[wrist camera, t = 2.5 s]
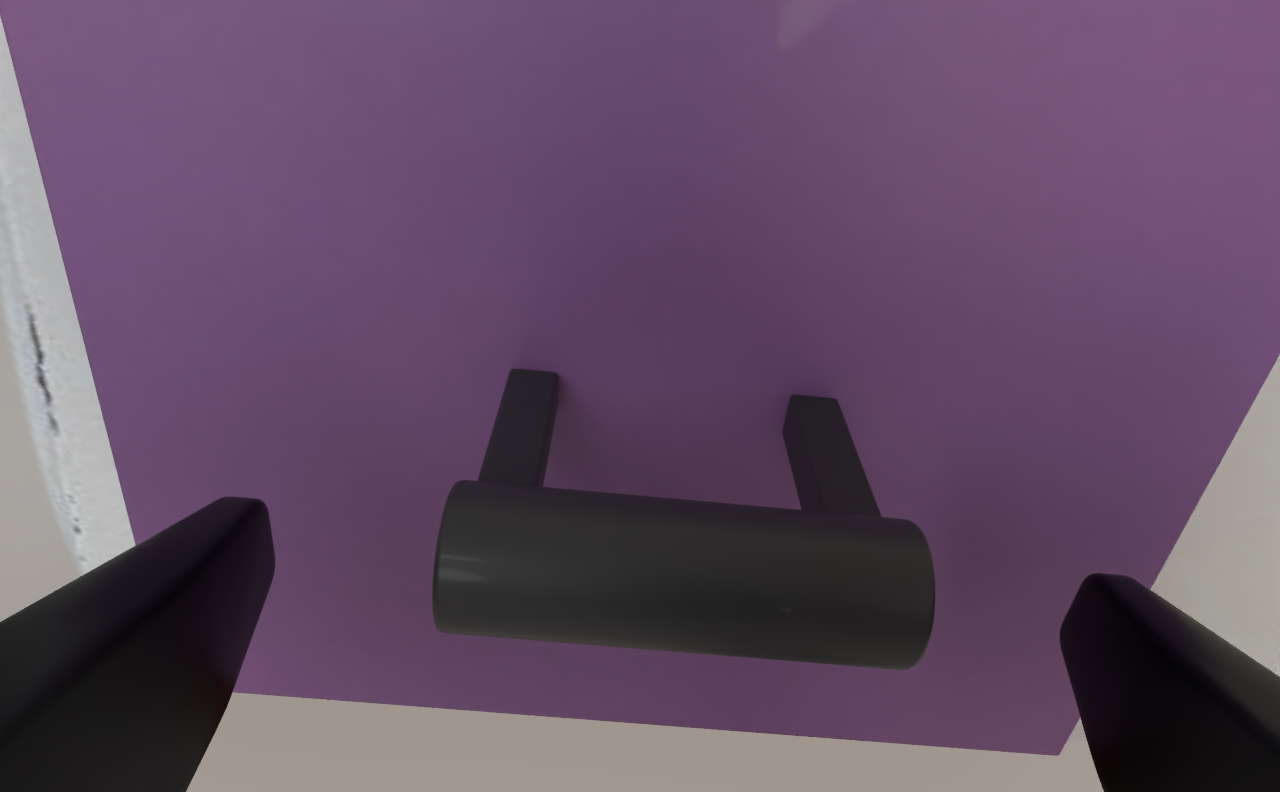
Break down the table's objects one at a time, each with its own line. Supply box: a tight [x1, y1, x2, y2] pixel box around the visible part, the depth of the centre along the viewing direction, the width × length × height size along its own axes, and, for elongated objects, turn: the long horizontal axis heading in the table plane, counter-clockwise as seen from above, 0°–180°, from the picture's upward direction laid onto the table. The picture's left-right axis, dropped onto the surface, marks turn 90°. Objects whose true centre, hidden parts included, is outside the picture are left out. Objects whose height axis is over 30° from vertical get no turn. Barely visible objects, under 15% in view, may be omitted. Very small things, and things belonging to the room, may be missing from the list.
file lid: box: [0, 0, 1280, 756], centre depth 10 cm, size 14×17×5 cm
